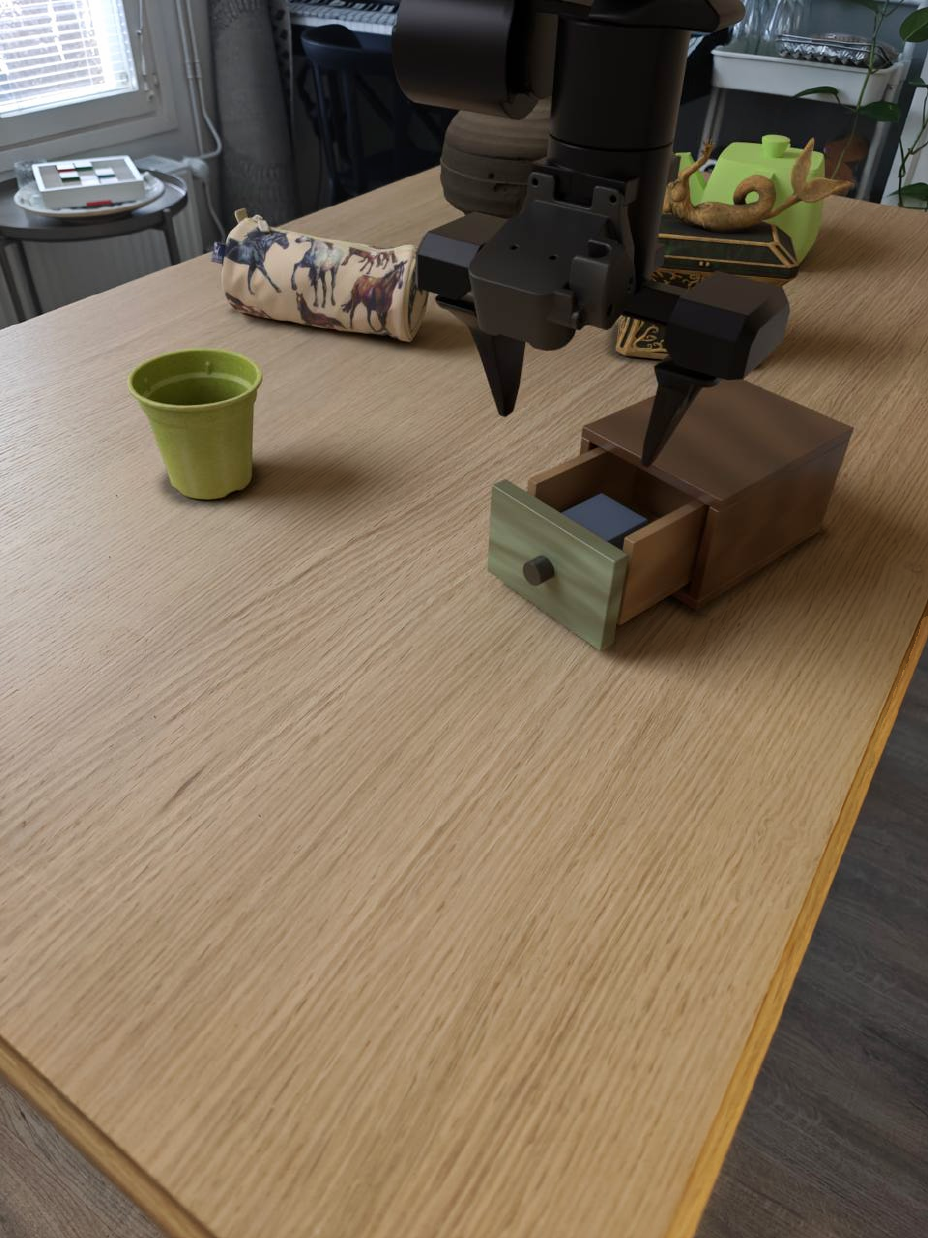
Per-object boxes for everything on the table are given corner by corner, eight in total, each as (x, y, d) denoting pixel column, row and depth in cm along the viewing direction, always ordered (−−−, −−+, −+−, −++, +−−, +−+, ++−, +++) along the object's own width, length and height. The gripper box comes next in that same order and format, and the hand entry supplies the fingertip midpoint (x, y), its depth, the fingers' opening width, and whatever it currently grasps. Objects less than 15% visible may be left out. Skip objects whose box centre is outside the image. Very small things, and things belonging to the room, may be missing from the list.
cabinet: (695, 610, 61) (722, 500, 56) (569, 531, 68) (582, 426, 62) (819, 531, 69) (854, 427, 63) (695, 467, 75) (717, 367, 70)
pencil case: (215, 322, 94) (200, 223, 88) (257, 294, 101) (246, 198, 94) (414, 359, 89) (413, 256, 83) (445, 326, 95) (447, 228, 89)
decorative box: (597, 358, 90) (625, 136, 78) (603, 320, 98) (630, 111, 85) (808, 380, 88) (873, 154, 75) (798, 338, 95) (856, 126, 82)
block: (638, 569, 61) (648, 519, 58) (597, 593, 59) (605, 542, 56) (594, 542, 63) (601, 492, 61) (553, 564, 61) (558, 513, 59)
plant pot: (281, 449, 76) (270, 348, 70) (266, 514, 68) (251, 407, 63) (165, 448, 75) (144, 346, 70) (137, 513, 68) (111, 405, 62)
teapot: (642, 262, 111) (660, 143, 103) (679, 216, 125) (697, 108, 117) (799, 288, 106) (832, 165, 97) (819, 237, 120) (849, 125, 112)
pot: (504, 210, 123) (521, 37, 109) (609, 258, 114) (644, 77, 100) (404, 244, 113) (410, 58, 99) (512, 299, 105) (535, 105, 91)
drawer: (586, 660, 56) (600, 570, 51) (473, 577, 62) (476, 490, 57) (735, 568, 63) (758, 482, 59) (621, 502, 69) (634, 420, 65)
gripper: (339, 133, 41) (356, 444, 51) (737, 221, 33) (663, 566, 43) (479, 93, 48) (469, 373, 58) (833, 158, 40) (751, 467, 51)
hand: (574, 437), depth 53 cm, fingers open, 9 cm apart
